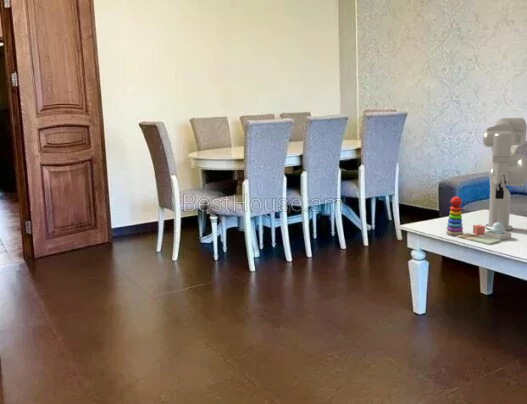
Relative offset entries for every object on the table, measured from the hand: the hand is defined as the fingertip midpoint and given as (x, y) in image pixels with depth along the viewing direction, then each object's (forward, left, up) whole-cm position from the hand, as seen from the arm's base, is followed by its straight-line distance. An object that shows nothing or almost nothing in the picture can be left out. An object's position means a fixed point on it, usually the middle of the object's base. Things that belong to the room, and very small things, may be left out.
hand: (499, 198), depth 254 cm
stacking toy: (-6, -19, -19) cm, 27 cm away
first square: (+1, -13, -19) cm, 23 cm away
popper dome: (0, 0, -17) cm, 17 cm away
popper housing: (0, 0, -19) cm, 19 cm away
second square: (+8, -6, -19) cm, 21 cm away
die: (-7, -7, -19) cm, 21 cm away
